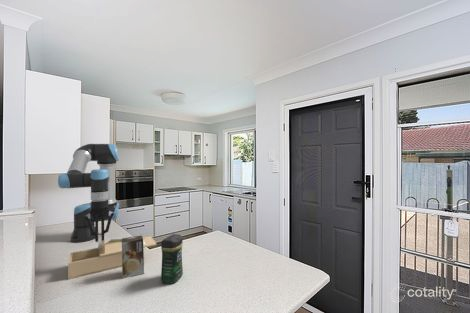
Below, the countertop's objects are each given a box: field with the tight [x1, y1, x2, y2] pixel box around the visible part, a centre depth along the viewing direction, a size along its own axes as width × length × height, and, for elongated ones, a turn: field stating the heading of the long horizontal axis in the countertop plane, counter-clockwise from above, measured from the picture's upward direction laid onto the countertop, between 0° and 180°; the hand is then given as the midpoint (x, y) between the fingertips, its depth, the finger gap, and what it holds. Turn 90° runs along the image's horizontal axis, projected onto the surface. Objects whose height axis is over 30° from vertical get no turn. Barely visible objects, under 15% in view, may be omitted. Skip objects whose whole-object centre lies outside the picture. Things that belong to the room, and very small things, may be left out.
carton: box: [104, 238, 122, 245], centre depth 131 cm, size 8×16×4 cm, turn 0°
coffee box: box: [121, 234, 145, 279], centre depth 103 cm, size 9×6×16 cm
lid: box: [99, 236, 157, 257], centre depth 118 cm, size 14×26×5 cm, turn 122°
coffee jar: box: [160, 233, 184, 284], centre depth 98 cm, size 10×8×19 cm
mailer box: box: [67, 247, 122, 281], centre depth 111 cm, size 14×26×7 cm, turn 122°
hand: (99, 247), depth 111 cm, fingers closed
